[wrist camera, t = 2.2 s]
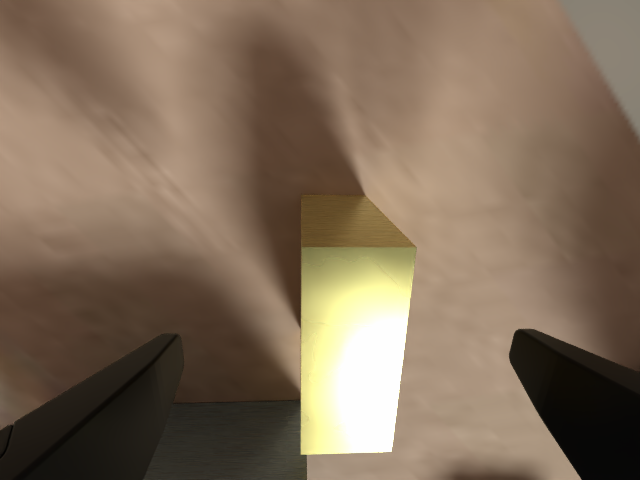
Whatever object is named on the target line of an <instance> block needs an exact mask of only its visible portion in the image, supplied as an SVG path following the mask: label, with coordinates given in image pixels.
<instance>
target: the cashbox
mask: <svg viewBox="0 0 640 480" xmlns="http://www.w3.org/2000/svg"><path fill="white" fill-rule="evenodd" d="M143 480H307V455H301V400H298V401H260V402H222V403H184V404H172V407H171V411H170V414H169V417H168V420H167V423H166V426H165V429H164V431H163V434H162V437H161V439H160V441H159V444H158V446H157V448H156V451H155V453H154V455H153V458H152V460H151V462H150V465H149V467H148V469H147V472H146V474H145V476H144V479H143Z"/></svg>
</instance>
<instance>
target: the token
mask: <svg viewBox="0 0 640 480" xmlns="http://www.w3.org/2000/svg"><path fill="white" fill-rule="evenodd" d="M416 248H417V247H416V246H415V245H414V244H413V243H412V242H411V241H410V240H409V239H408V238H407V237H406V236H405V235H404V234H403V233H402V232H401V231H400V230H399V229H398V228H397V227H396V226H395V225H394V224H393V223H392V222H391V221H390V220H389V219H388V218H387V217H386V216H385V215H384V214H383V213H382V212H381V211H380V210H379V209H378V208H377V207H376V206H375V205H374V204H373V203H372V202H371V201H370V200H369V199H368V198H367V197H366V196H365V195H301V455H308V454H335V453H362V452H389V451H391V450H392V442H393V434H394V426H395V418H396V410H397V401H398V393H399V385H400V377H401V369H402V361H403V353H404V345H405V337H406V329H407V321H408V313H409V305H410V297H411V289H412V281H413V273H414V264H415V256H416Z"/></svg>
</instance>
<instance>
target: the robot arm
mask: <svg viewBox="0 0 640 480" xmlns="http://www.w3.org/2000/svg"><path fill="white" fill-rule="evenodd" d="M509 359H510V363H511V365H512V367H513V369H514V370H515V372H516V374H517V376H518V378H519V380H520V381H521V383H522V385H523V387H524V389H525V391H526V392H527V394H528V396H529V398H530V400H531V402H532V403H533V405H534V407H535V409H536V411H537V412H538V414H539V416H540V417H541V419H542V421H543V422H544V424H545V425H546V427H547V428H548V430H549V431H550V433H551V434H552V436H553V437H554V439H555V440H556V442H557V443H558V445H559V446H560V448H561V449H562V451H563V452H564V454H565V455H566V457H567V458H568V460H569V461H570V463H571V464H572V466H573V467H574V469H575V470H576V472H577V473H578V475H579V476H580V478H581V479H582V480H640V373H639V372H636V371H634V370H631V369H629V368H627V367H624V366H622V365H619V364H617V363H614V362H612V361H610V360H607V359H605V358H602V357H600V356H598V355H595V354H593V353H590V352H588V351H585V350H583V349H581V348H578V347H576V346H573V345H571V344H568V343H566V342H564V341H561V340H559V339H556V338H554V337H551V336H549V335H547V334H544V333H542V332H539V331H537V330H534V329H518V330H516V331H515V333H514V336H513V340H512V345H511V349H510V353H509ZM183 367H184V357H183V349H182V342H181V337H180V335H179V334H162V335H160V336H158V337H156V338H155V339H153V340H151V341H150V342H148V343H146V344H145V345H143V346H141V347H140V348H138V349H136V350H135V351H133V352H131V353H130V354H128V355H126V356H125V357H123V358H121V359H119V360H118V361H116V362H114V363H113V364H111V365H109V366H108V367H106V368H104V369H103V370H101V371H99V372H98V373H96V374H94V375H93V376H91V377H89V378H88V379H86V380H84V381H83V382H81V383H79V384H77V385H76V386H74V387H72V388H71V389H69V390H67V391H66V392H64V393H62V394H61V395H59V396H57V397H56V398H54V399H52V400H51V401H49V402H47V403H46V404H44V405H42V406H40V407H39V408H37V409H35V410H34V411H32V412H30V413H29V414H27V415H25V416H24V417H22V418H20V419H19V420H17V421H15V422H14V425H8V426H7V427H5V428H3V429H2V430H0V480H143V479H144V476H145V474H146V472H147V469H148V467H149V465H150V462H151V460H152V458H153V455H154V453H155V451H156V448H157V446H158V444H159V441H160V439H161V437H162V434H163V431H164V429H165V426H166V423H167V420H168V417H169V414H170V411H171V407H172V404H173V401H174V398H175V394H176V391H177V388H178V385H179V381H180V378H181V375H182V371H183Z"/></svg>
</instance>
